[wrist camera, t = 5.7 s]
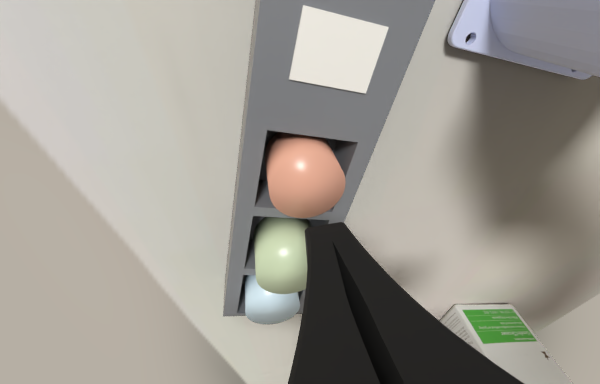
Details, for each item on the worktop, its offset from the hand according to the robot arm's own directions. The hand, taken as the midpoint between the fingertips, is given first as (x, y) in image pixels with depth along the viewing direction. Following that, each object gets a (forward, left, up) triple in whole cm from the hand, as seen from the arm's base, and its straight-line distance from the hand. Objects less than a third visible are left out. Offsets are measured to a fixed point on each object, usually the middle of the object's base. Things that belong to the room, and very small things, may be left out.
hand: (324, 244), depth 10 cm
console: (0, +2, -7) cm, 8 cm away
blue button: (0, +10, -6) cm, 11 cm away
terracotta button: (0, 0, -6) cm, 6 cm away
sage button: (0, +5, -5) cm, 7 cm away
